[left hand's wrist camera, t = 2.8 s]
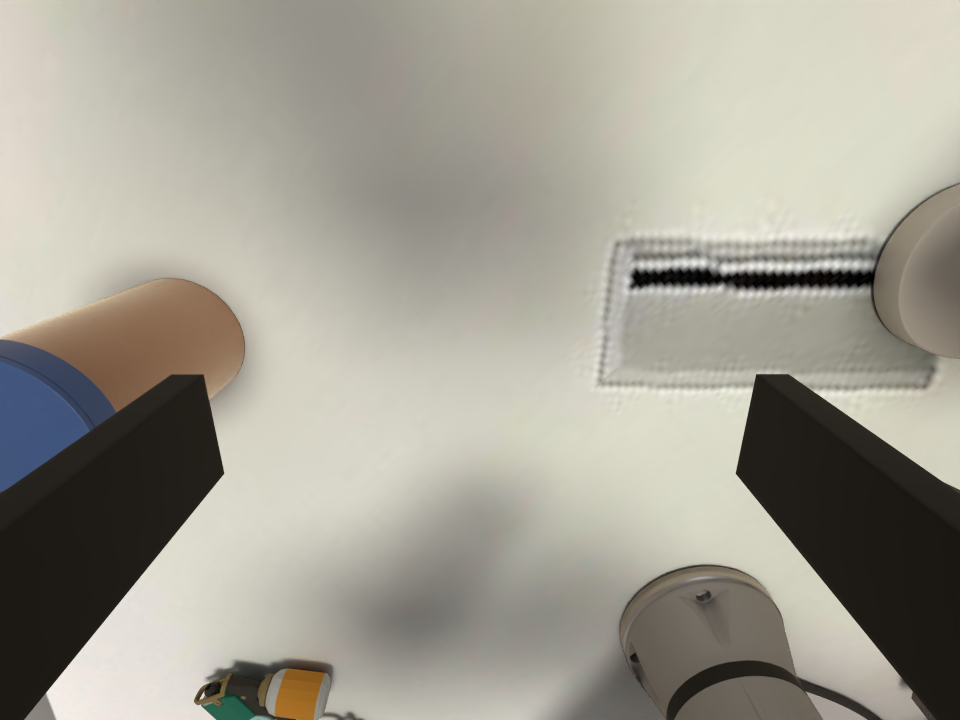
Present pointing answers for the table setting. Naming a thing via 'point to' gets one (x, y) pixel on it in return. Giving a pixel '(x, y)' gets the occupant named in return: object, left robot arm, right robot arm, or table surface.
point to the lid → (42, 408)
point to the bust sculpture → (924, 277)
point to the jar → (145, 339)
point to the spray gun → (267, 696)
